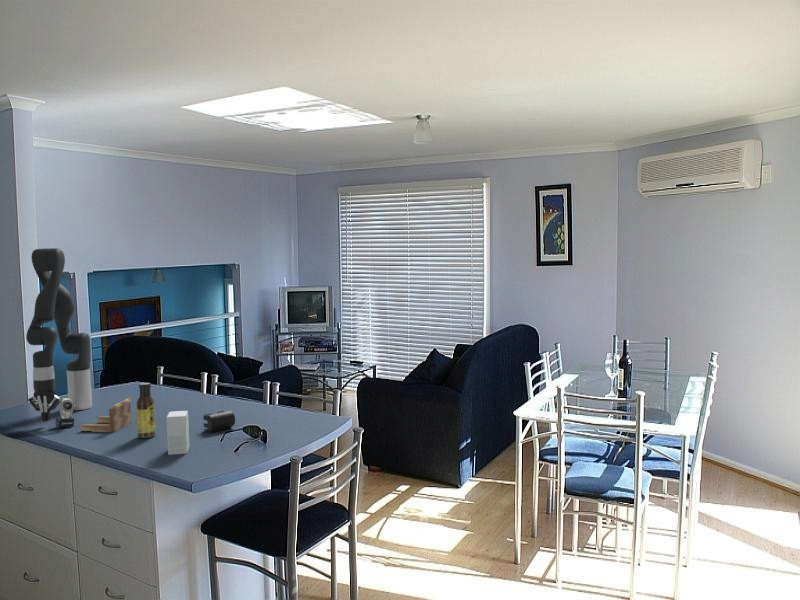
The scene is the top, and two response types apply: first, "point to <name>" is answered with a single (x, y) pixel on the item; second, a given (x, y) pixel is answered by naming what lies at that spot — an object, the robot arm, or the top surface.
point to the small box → (177, 432)
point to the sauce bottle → (145, 412)
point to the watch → (65, 413)
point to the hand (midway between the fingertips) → (46, 421)
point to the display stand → (112, 418)
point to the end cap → (219, 421)
